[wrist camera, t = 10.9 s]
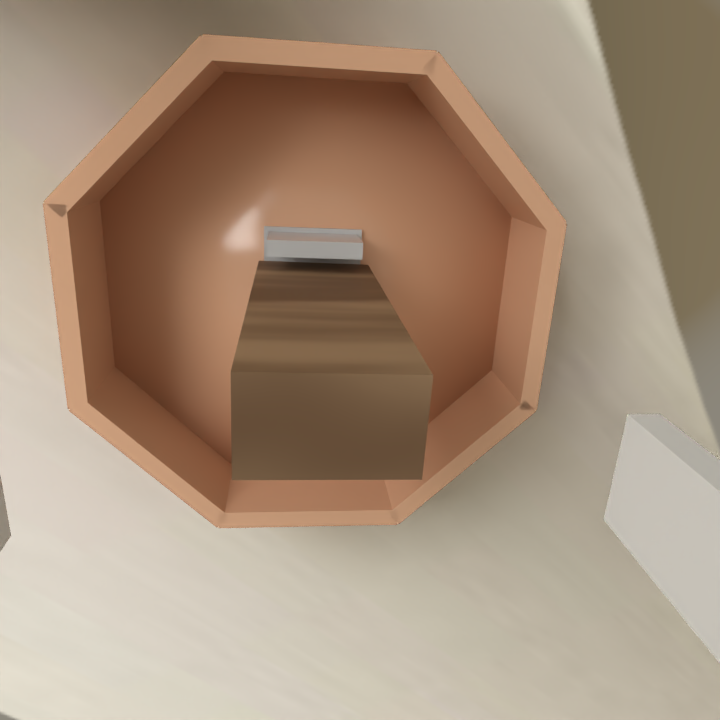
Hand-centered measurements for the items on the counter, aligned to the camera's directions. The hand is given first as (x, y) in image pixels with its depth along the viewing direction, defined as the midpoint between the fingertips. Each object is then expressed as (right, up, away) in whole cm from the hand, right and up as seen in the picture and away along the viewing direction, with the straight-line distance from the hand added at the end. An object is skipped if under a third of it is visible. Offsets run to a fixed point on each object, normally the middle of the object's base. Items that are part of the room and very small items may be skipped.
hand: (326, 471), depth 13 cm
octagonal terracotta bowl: (-2, +6, +17) cm, 18 cm away
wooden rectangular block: (-2, +5, +16) cm, 17 cm away
